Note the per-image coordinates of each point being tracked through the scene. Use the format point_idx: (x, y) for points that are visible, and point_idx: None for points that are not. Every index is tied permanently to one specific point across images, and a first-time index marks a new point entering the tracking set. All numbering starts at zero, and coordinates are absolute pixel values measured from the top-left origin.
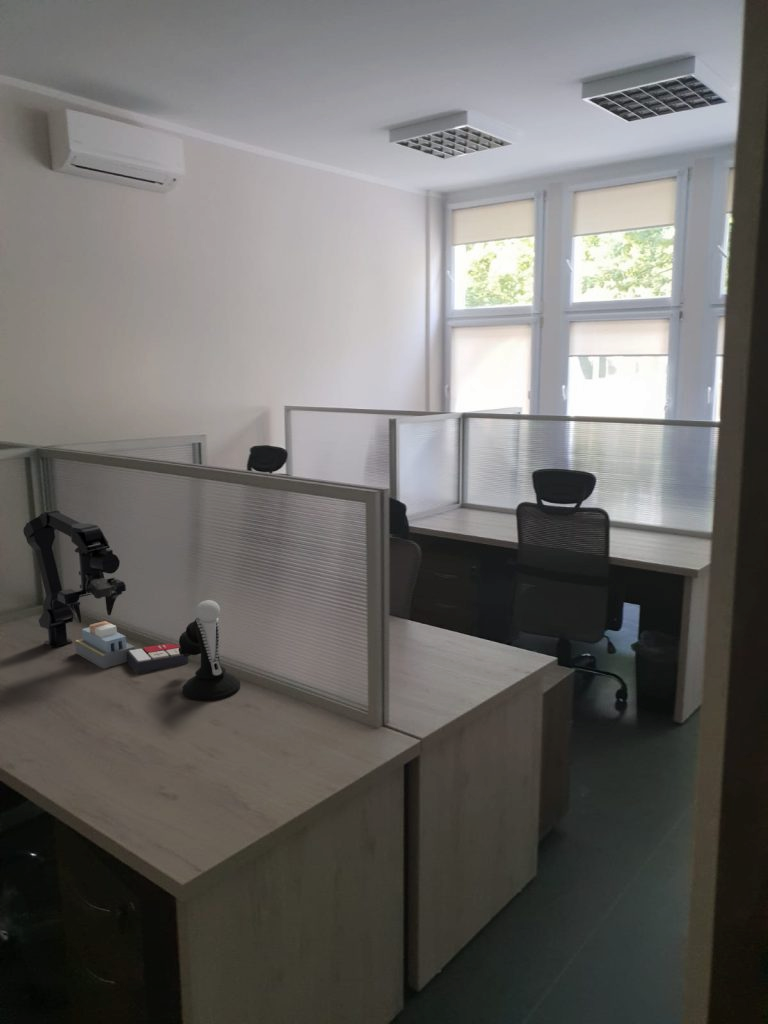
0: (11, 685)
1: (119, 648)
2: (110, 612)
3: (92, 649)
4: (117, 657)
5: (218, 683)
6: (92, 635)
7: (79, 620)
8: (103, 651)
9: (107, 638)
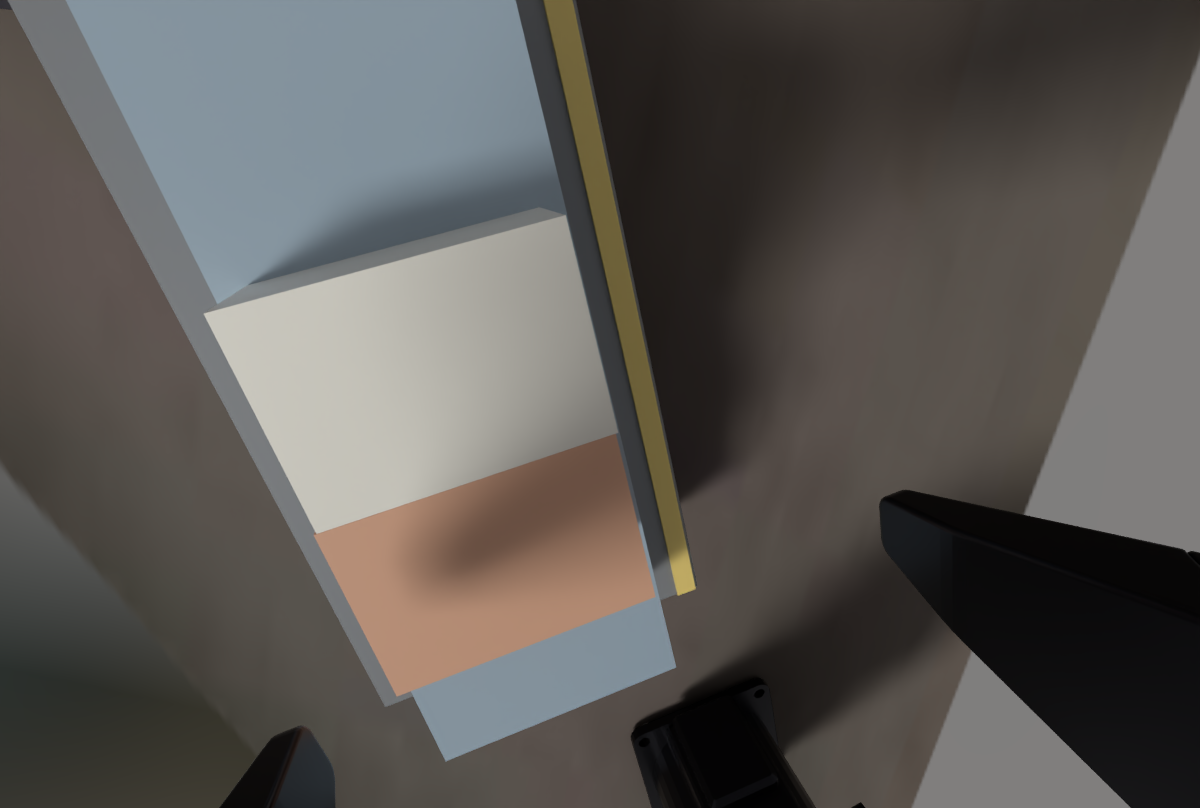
0: (1176, 78)
1: None
2: (252, 784)
3: (618, 232)
4: None
5: None
6: None
7: (948, 500)
8: None
9: (445, 87)
